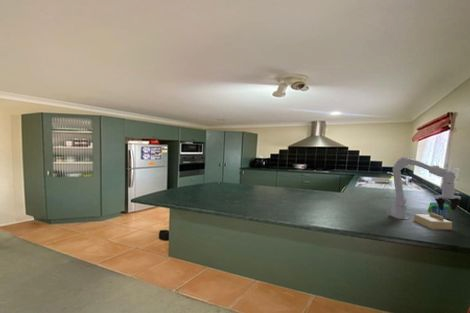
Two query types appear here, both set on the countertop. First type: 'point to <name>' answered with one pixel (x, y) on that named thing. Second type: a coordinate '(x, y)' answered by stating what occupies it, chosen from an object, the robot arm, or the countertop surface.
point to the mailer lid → (433, 218)
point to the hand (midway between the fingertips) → (447, 209)
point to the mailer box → (433, 223)
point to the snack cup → (435, 209)
